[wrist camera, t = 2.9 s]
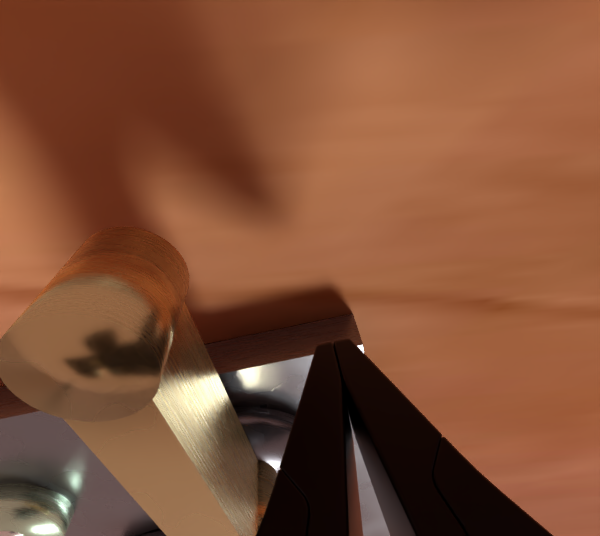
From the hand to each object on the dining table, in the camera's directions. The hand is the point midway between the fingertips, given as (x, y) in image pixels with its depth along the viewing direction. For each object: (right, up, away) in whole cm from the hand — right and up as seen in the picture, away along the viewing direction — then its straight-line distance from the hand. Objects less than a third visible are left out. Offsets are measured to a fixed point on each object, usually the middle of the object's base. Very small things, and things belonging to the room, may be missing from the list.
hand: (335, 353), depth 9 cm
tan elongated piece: (-4, -2, +3) cm, 5 cm away
